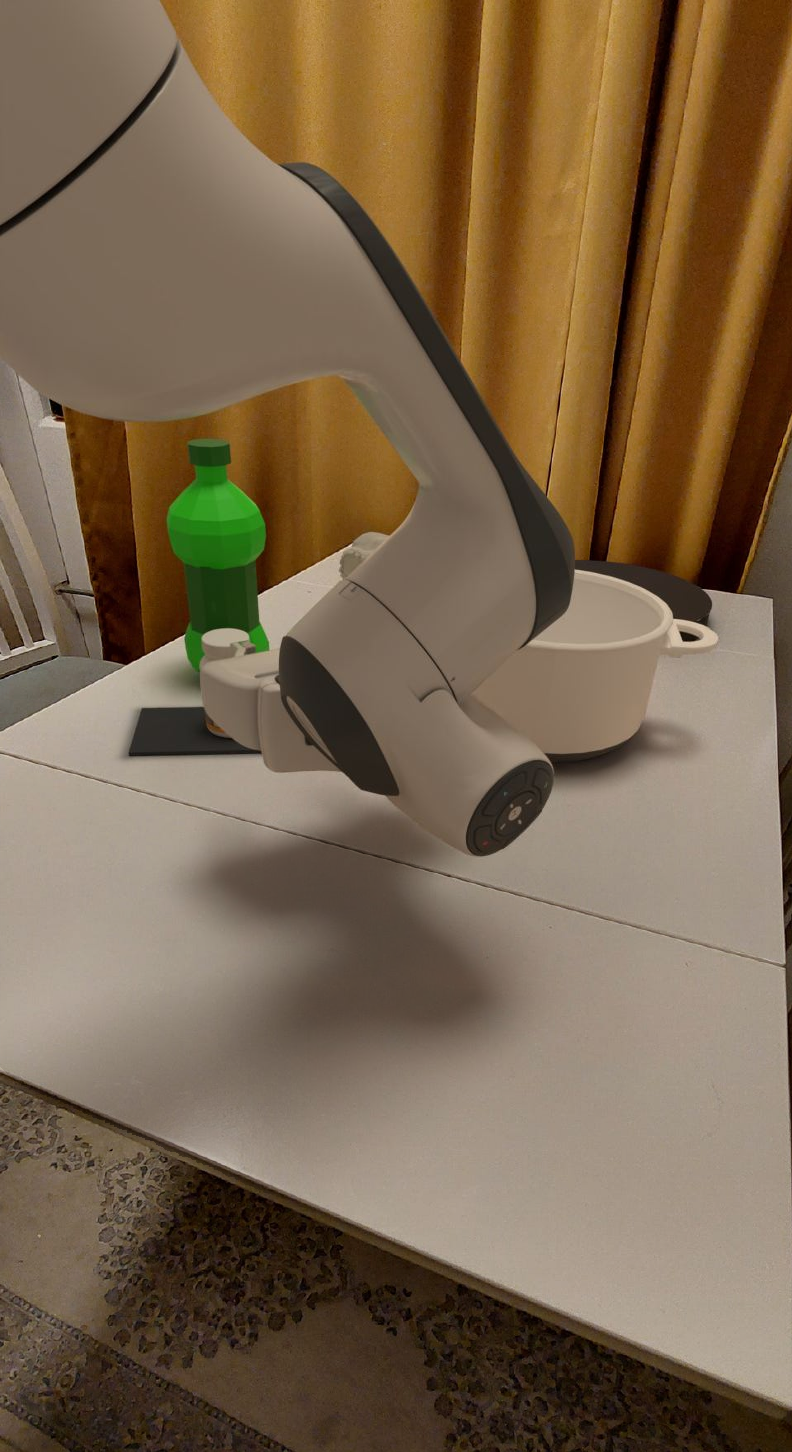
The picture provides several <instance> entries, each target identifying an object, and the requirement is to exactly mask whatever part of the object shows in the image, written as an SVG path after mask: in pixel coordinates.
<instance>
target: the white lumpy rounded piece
mask: <svg viewBox="0 0 792 1452" xmlns="http://www.w3.org/2000/svg"><path fill="white" fill-rule="evenodd" d="M389 536H390V535H388V534H384V533H381V532H377V531H376V532H374V531H368V532H365V533H362V534H361V535H359V536H358V537H357V538H355V539H354V540H353V541H352V544H351V547H350V548H347V549H345V550H344V551H343V552H342V554H341V556H340V557H341V558H340V559H339V564H340V567H339V569H338V572H339V573H340V575H339V576H340V578H342V580H344V579H345V578H346V577H347V576H348V575H349V574H350V573H351V572H352V571H353V570H354V569H356V568H357V567H358V566H359V565H360V564H361V563H362V562H363V561H364V560H365V559H366V558H367V557H368V556H369V555H370V554H371V553H372V552H373V551H374V550H375V549H376V548H378V547H379V546H380V545H381V544H382V543H383V542H384V541H385V540H386V539H387V538H388V537H389Z"/></svg>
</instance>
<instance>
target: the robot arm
mask: <svg viewBox="0 0 792 1452" xmlns="http://www.w3.org/2000/svg"><path fill="white" fill-rule="evenodd" d="M0 359H1V360H2V361H3V362H4V363H5V364H6V365H8V366H9V368H11V369H12V370H13V371H14V372H15V373H16V374H17V375H18V376H19V377H20V378H21V379H22V380H24V381H25V383H27V384H28V385H29V386H30V387H31V388H32V389H33V390H35V391H36V392H37V393H39V394H40V395H42V396H44V397H46V398H48V399H49V400H52V401H53V402H54V403H55V402H56V403H57V404H59V405H60V406H64V407H66V408H68V409H71V410H73V411H76V412H79V413H81V414H84V415H88V416H92V417H96V418H100V419H104V420H110V421H117V422H125V423H158V422H159V423H160V422H170V421H176V420H177V421H178V420H184V419H185V420H186V419H191V418H197V417H199V416H204V415H208V414H213V413H215V412H219V411H221V410H225V409H227V408H229V407H232V406H234V405H237V404H240V403H243V402H244V401H248V400H250V399H253V398H255V397H257V396H258V397H259V396H260V395H263V394H266V393H269V392H272V391H274V390H277V389H280V388H282V387H286V386H290V385H294V384H297V383H302V382H305V381H309V380H314V379H318V378H326V377H339V378H340V379H341V380H342V381H343V382H344V383H345V385H347V386H348V388H349V389H350V390H351V392H352V393H353V394H354V396H355V397H356V399H357V400H358V402H359V403H360V405H362V407H363V408H364V410H365V412H367V413H368V415H369V417H370V418H371V419H372V421H373V422H374V423H375V424H376V426H377V427H378V429H379V430H380V431H381V433H382V434H383V435H384V437H385V438H386V439H387V441H388V442H389V444H390V445H391V446H392V448H393V449H394V451H395V452H396V453H397V455H398V456H399V457H400V459H401V460H402V462H403V463H404V464H405V465H406V467H407V468H408V470H409V471H410V472H411V474H412V475H413V477H414V478H415V479H416V481H417V483H418V488H417V489H418V490H417V495H416V497H415V498H416V499H415V501H414V503H413V506H412V507H411V510H410V511H409V512H408V514H407V516H406V518H405V519H404V521H402V522H401V524H400V525H399V526H398V527H397V528H396V529H395V530H394V531H393V532H392V533H390V535H389V537H388V538H387V539H386V540H385V541H384V542H383V543H382V544H381V545H380V546H379V547H378V548H376V549H375V550H374V551H373V552H372V553H371V554H370V555H369V556H368V557H367V558H366V559H365V560H364V561H363V562H362V563H361V564H360V565H359V566H358V567H357V568H356V569H354V570H353V571H352V572H351V573H350V574H349V575H348V576H347V577H346V578H345V579H344V580H343V579H341V580H339V581H338V582H337V583H336V584H335V585H334V586H333V587H332V588H331V589H330V590H329V591H328V592H327V593H326V594H325V595H324V596H323V597H321V599H320V600H319V601H318V602H316V603H315V604H314V606H312V608H310V609H309V610H308V611H307V612H306V614H304V615H303V616H302V617H301V618H300V619H299V620H298V621H297V622H296V623H295V625H294V626H293V627H292V628H291V629H290V630H289V631H288V632H287V633H286V634H285V635H284V636H282V638H281V642H280V646H279V648H275V649H269V651H264V652H258V653H256V648H255V645H253V644H252V643H250V641H249V640H246V641H240V642H234V643H230V654H231V658H226V659H221V660H215V661H210V662H207V663H206V664H205V665H204V666H203V667H202V669H201V671H200V673H199V685H200V687H199V688H200V695H201V702H202V707H204V709H205V711H206V713H207V714H208V716H209V717H210V718H211V719H212V720H213V721H214V722H215V723H216V724H217V725H218V726H219V727H220V728H221V729H222V730H223V731H224V732H225V733H226V734H228V735H229V736H230V737H231V738H233V739H234V740H235V741H236V742H238V743H240V744H241V745H243V746H245V747H247V748H250V749H254V750H260V751H261V752H262V753H261V756H262V761H263V764H264V766H265V767H266V768H267V769H268V770H269V771H270V772H274V773H276V774H277V773H278V774H280V773H281V774H284V773H298V772H300V773H301V772H336V773H337V772H338V773H343V774H344V775H345V776H346V777H347V778H348V779H349V780H350V781H351V782H352V783H353V784H354V786H356V787H357V788H358V789H359V790H360V791H364V792H368V793H371V794H375V795H380V796H385V798H387V800H388V801H389V802H390V803H391V804H393V806H395V807H396V808H397V809H398V810H399V811H400V812H402V813H403V814H404V815H405V816H407V817H408V818H409V819H410V820H411V821H413V822H414V823H415V824H417V825H418V826H419V827H420V828H422V830H425V831H426V832H428V833H429V834H431V835H432V836H433V837H434V838H436V839H438V840H440V841H441V842H443V843H445V844H446V845H448V846H449V847H451V848H452V849H455V850H457V851H458V852H461V853H462V854H465V855H468V856H469V857H475V858H481V857H488V856H491V855H494V854H496V853H498V852H500V851H502V850H504V849H505V848H507V847H508V846H510V845H511V844H512V843H513V842H514V841H516V840H517V839H518V838H519V837H520V836H521V835H522V834H523V833H524V832H525V831H526V830H527V829H528V828H529V827H530V826H531V825H532V824H533V823H534V822H536V820H537V818H538V817H539V816H540V815H541V814H542V812H543V810H544V808H545V806H546V805H547V802H548V800H549V798H550V796H551V793H552V790H553V786H554V781H555V771H554V767H553V764H552V762H550V760H549V759H548V758H547V757H546V755H545V754H544V753H543V752H542V751H541V750H540V749H539V748H538V747H537V746H536V745H535V744H534V743H533V742H532V741H531V740H530V739H529V738H528V737H527V736H526V735H525V734H524V733H523V732H521V731H520V730H519V729H518V728H517V727H516V726H515V725H514V724H512V723H511V722H510V721H509V720H508V719H506V718H505V717H504V716H503V715H501V714H500V713H499V712H498V711H496V710H495V709H493V708H492V707H491V706H489V705H488V704H487V703H485V702H484V701H482V700H481V699H479V698H478V697H477V696H475V695H473V694H472V693H473V692H474V691H475V690H476V689H477V688H478V687H479V686H480V685H481V684H482V683H483V682H484V681H485V680H486V679H488V678H489V677H490V676H491V675H492V674H493V673H494V672H495V671H496V670H497V669H498V668H499V667H500V666H501V665H502V664H503V663H504V662H505V661H506V660H507V659H508V658H509V657H510V656H511V655H512V654H514V653H515V652H516V651H517V650H519V649H521V648H523V647H524V646H525V645H527V644H528V643H529V642H530V641H532V640H533V639H534V638H535V637H537V636H538V635H539V634H540V633H541V632H543V631H544V630H545V629H546V628H548V627H549V626H550V625H551V624H553V623H554V622H555V621H556V620H558V619H559V618H560V617H561V616H562V615H564V614H565V612H566V611H567V609H568V607H569V604H570V600H571V595H572V590H573V582H574V574H575V560H576V550H575V548H576V547H575V542H574V539H573V535H572V533H571V531H570V530H569V527H568V525H567V523H566V522H565V520H564V519H563V517H562V516H561V514H560V512H559V511H558V510H557V508H556V507H555V506H554V504H553V502H551V500H550V499H549V498H548V496H547V495H546V493H545V492H544V491H543V490H542V489H541V487H540V486H539V484H538V483H537V482H536V481H535V479H534V478H533V477H532V476H531V474H530V473H529V472H528V470H527V469H526V468H525V466H524V465H523V464H522V463H521V461H520V460H519V458H518V457H517V455H516V453H515V452H514V451H513V449H512V447H511V445H510V444H509V441H508V440H507V439H506V436H505V435H504V433H503V431H502V430H501V428H500V426H499V425H498V423H497V421H496V420H495V418H494V416H493V414H492V413H491V411H490V409H489V407H488V405H487V404H486V402H485V401H484V399H483V397H482V396H481V394H480V392H479V391H478V388H477V387H476V385H475V383H474V382H473V380H472V378H471V377H470V375H469V373H468V371H467V370H466V368H465V366H464V364H463V363H462V361H461V359H460V357H459V355H458V354H457V352H456V351H455V348H454V347H453V345H452V343H451V341H450V340H449V338H448V336H447V334H446V333H445V332H444V330H443V328H442V327H441V325H440V323H439V321H438V319H437V318H436V316H435V315H434V313H433V311H432V309H431V308H430V306H429V304H428V302H427V301H426V300H425V298H424V296H423V295H422V293H421V292H420V290H419V288H418V286H417V285H416V283H415V282H414V280H413V278H412V277H411V274H410V273H409V272H408V270H407V269H406V267H405V266H404V264H403V262H402V261H401V259H400V258H399V256H398V254H397V253H396V252H395V250H394V249H393V247H392V246H391V244H390V243H389V241H388V240H387V239H386V237H385V235H384V234H383V232H382V231H381V230H380V228H379V227H378V225H377V224H376V223H375V222H374V220H373V219H372V218H371V216H370V215H369V214H368V213H367V211H366V210H365V209H364V208H363V206H362V205H361V204H360V203H359V201H358V200H357V199H356V198H355V197H354V196H353V195H352V194H351V192H349V191H348V190H347V189H346V188H345V187H344V186H343V185H342V184H341V183H340V182H339V181H338V180H337V179H336V178H335V177H334V176H332V175H331V174H330V173H329V172H327V171H326V170H324V169H323V168H321V167H320V166H317V165H316V164H313V163H310V162H304V161H299V162H285V163H275V162H274V161H273V160H272V159H270V157H268V156H267V155H266V154H265V153H263V152H262V151H261V150H260V149H259V148H257V147H256V146H255V144H253V143H252V142H251V141H250V140H249V139H248V138H247V137H246V136H245V135H244V134H243V133H242V132H241V131H240V130H239V128H237V126H236V125H235V124H234V123H233V122H232V120H231V119H230V118H229V117H228V116H227V114H226V113H225V112H224V110H222V108H221V106H219V104H218V103H217V101H216V100H215V98H214V97H213V95H212V93H211V92H210V91H209V90H208V88H207V86H206V84H205V83H204V81H203V80H202V78H201V76H200V75H199V73H198V72H197V70H196V68H195V66H194V65H193V62H192V61H191V58H190V57H189V55H188V53H187V51H186V50H185V47H184V46H183V44H182V42H181V40H180V39H179V37H178V34H177V31H176V30H175V27H174V26H173V24H172V22H171V20H170V17H169V15H168V14H167V12H166V10H165V8H164V5H163V4H162V2H161V0H0Z"/></svg>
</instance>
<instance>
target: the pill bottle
mask: <svg viewBox="0 0 792 1452" xmlns="http://www.w3.org/2000/svg"><path fill="white" fill-rule="evenodd" d="M246 640H249V641H250V638H249V635H248V634H247V633H246V632H244V631H242V630H238V629H231V628H224V629H216V630H212V631H209V632H207V633H205V634H204V635H203V636H202V650H203V651H204V653H205V654H206V655H205V656H204V657H203V658H202V659H201V661H200V665H199V670H200V671H201V669H202V667H203V666H204V665H205V664H206V663H207V662H210V661H215V660H221V659H226V658H231V654H230V643H234V642H240V641H246ZM204 710H205V709H204ZM205 718H206V724H207V728H208V729H209V731H210V732H212V733H213V734H215V735H217V736H220V737H225V738H231V737H230V736H229V735H228V734H226V733H225V732H224V731H223V730H222V729H221V728H220V727H219V726H218V725H217V724H216V723H215V722H214V721H213V720H212V719H211V718H210V717H209V716H208V714H207V713H206V711H205Z"/></svg>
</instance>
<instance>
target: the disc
mask: <svg viewBox="0 0 792 1452" xmlns="http://www.w3.org/2000/svg"><path fill="white" fill-rule="evenodd" d="M575 570H581V571H587V572H593V573H598V574H602V575H606V576H611V577H614V578H617V579H620V580H624V581H627V582H629V583H632V584H634V585H637V586H639V587H642V588H644V589H645V590H647V591H649V592H651V593H653V594H654V595H656V596H658V597H659V598H660V599H661V600H663V601H664V602H665V603H666V604H667V605H668V607H669V608H670V610H671V611H672V614H673V619H679V620H686V621H691V622H695V623H698V624H701V625H704V626H706V627H708V622H709V619H710V614H711V611H712V609H713V600H712V599H711V597H710V595H709V593H708V592H706V591H705V590H704V589H702V588H701V587H700V586H698V585H697V584H694V583H693V582H691V581H689V580H688V579H685V578H682V577H679V576H677V575H675V574H671V573H669V572H666V571H662V570H659V569H654V568H650V567H645V566H642V565H636V564H630V563H624V562H616V561H606V560H594V559H593V560H591V559H575ZM679 633H680V636H681V638H682V641H683V642H692V641H693V640H695V639H697V638H698V637H697V636H695V635H693V634H690V633H687V632H682V631H679Z"/></svg>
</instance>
